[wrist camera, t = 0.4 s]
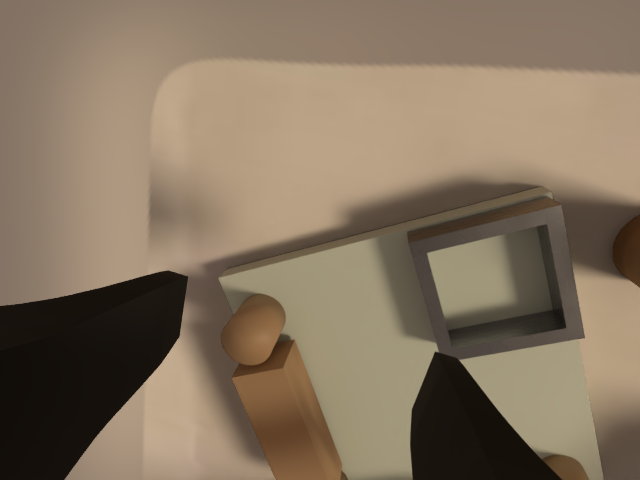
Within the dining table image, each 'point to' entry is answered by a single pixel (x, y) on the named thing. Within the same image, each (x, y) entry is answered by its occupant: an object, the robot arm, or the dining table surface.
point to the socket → (516, 330)
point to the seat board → (413, 339)
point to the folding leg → (288, 416)
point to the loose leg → (628, 251)
